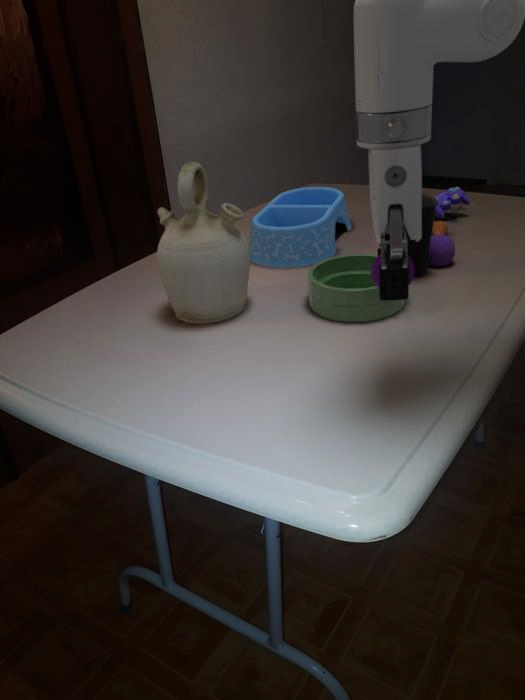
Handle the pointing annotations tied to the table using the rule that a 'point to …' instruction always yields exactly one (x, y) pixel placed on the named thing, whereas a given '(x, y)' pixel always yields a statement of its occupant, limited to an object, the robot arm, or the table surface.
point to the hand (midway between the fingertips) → (392, 287)
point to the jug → (202, 254)
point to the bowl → (348, 290)
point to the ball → (378, 262)
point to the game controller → (450, 201)
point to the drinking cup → (423, 236)
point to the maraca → (440, 246)
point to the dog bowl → (298, 227)
